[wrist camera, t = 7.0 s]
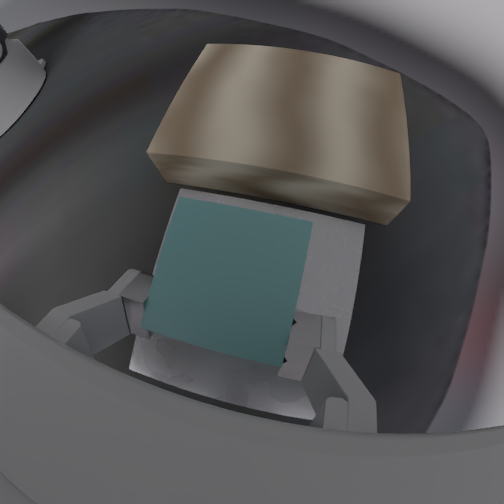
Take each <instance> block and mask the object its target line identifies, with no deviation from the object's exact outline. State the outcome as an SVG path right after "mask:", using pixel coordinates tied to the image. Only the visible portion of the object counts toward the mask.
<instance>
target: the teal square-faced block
mask: <svg viewBox="0 0 504 504" xmlns="http://www.w3.org/2000/svg"><path fill="white" fill-rule="evenodd" d="M312 225H313V222H311V221H306V220H301V219H297V218H292V217H287V216H282V215H277V214H272V213H267V212H262V211H257V210H252V209H247V208H241V207H236V206H230V205H225V204H219V203H214V202H208V201H202V200H197V199H191V198H185V197H179V199H178V202H177V204H176V207H175V210H174V213H173V216H172V219H171V222H170V225H169V228H168V231H167V234H166V237H165V240H164V244H163V247H162V250H161V253H160V256H159V260H158V263H157V266H156V270H155V273H154V277H153V280H152V284H151V287H150V291H149V295H148V299H147V303H146V307H145V310H144V314H143V318H142V322H141V326H140V327H141V328H144V329H146V330H149V331H152V332H155V333H158V334H161V335H164V336H167V337H170V338H173V339H176V340H180V341H183V342H186V343H189V344H193V345H196V346H199V347H203V348H206V349H210V350H213V351H217V352H221V353H224V354H228V355H232V356H236V357H240V358H244V359H248V360H252V361H256V362H260V363H265V364H269V365H274V366H278V367H282V364H283V360H284V356H285V352H286V347H287V343H288V339H289V335H290V331H291V327H292V322H293V318H294V314H295V309H296V305H297V300H298V295H299V291H300V286H301V281H302V276H303V272H304V267H305V262H306V257H307V251H308V246H309V241H310V236H311V230H312Z"/></svg>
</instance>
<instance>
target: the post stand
mask: <svg viewBox="0 0 504 504" xmlns="http://www.w3.org/2000/svg"><path fill="white" fill-rule="evenodd" d="M179 197H185V198H191V199H197V200H202V201H208V202H214V203H219V204H225V205H230V206H236V207H241V208H247V209H252V210H257V211H262V212H267V213H272V214H277V215H282V216H287V217H292V218H297V219H301V220H306V221H311V222H313V225H312V230H311V236H310V241H309V246H308V251H307V257H306V262H305V267H304V272H303V276H302V281H301V286H300V291H299V295H298V300H297V305H296V309H295V310H297V311H302V312H307V313H312V314H317V315H324V316H330V317H335V318H336V352H340V353H341V354H342V355H343V354H344V350H345V345H346V341H347V336H348V331H349V327H350V322H351V317H352V311H353V306H354V300H355V295H356V289H357V283H358V276H359V270H360V263H361V256H362V248H363V240H364V231H365V224H361V223H356V222H352V221H348V220H344V219H339V218H335V217H330V216H326V215H321V214H317V213H312V212H308V211H303V210H298V209H293V208H288V207H283V206H278V205H273V204H268V203H263V202H258V201H253V200H247V199H242V198H236V197H231V196H225V195H219V194H213V193H207V192H201V191H195V190H189V189H182V188H180V191H179V194H178V196H177V199H176V202H175V205H174V208H173V210H172V213H171V216H170V219H169V222H168V225H167V228H166V231H165V234H164V237H163V241H162V244H161V247H160V250H159V253H158V257H157V260H156V263H155V267H154V270H153V274H152V275H154V273H155V270H156V266H157V263H158V260H159V256H160V253H161V250H162V247H163V244H164V240H165V237H166V234H167V231H168V228H169V225H170V222H171V219H172V216H173V213H174V210H175V207H176V204H177V202H178V199H179ZM129 369H131V370H133V371H136V372H138V373H141V374H143V375H146V376H148V377H151V378H153V379H156V380H159V381H161V382H164V383H167V384H170V385H173V386H176V387H178V388H181V389H184V390H187V391H190V392H194V393H197V394H200V395H203V396H207V397H210V398H213V399H217V400H220V401H224V402H228V403H232V404H235V405H239V406H243V407H247V408H252V409H256V410H260V411H265V412H270V413H275V414H280V415H285V416H290V417H296V418H302V419H308V420H313V419H314V417H315V416H316V414H315V412H314V410H313V407H312V405H311V403H310V401H309V399H308V397H307V395H306V392H305V390H304V388H303V386H302V384H301V381H298V380H293V379H289V378H284V377H280V376H278V371H279V367H278V366H274V365H269V364H265V363H260V362H256V361H252V360H248V359H244V358H240V357H236V356H232V355H228V354H224V353H221V352H217V351H213V350H210V349H206V348H203V347H199V346H196V345H193V344H189V343H186V342H183V341H180V340H176V339H173V338H170V337H167V336H164V335H161V334H158V333H155V332H154V333H153V335H152V336H151V338H150V339H146V338H143V337H140V336H137V335H136V339H135V343H134V348H133V352H132V357H131V362H130V367H129Z"/></svg>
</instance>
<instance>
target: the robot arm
mask: <svg viewBox="0 0 504 504" xmlns="http://www.w3.org/2000/svg"><path fill="white" fill-rule="evenodd" d="M7 35H8V34H7V33H6V31H5V30H4V27H3V26H1V25H0V136H1V135H2V134H3V133H4V132H5V131H7V130H8V129H9V128H10V127H11V125H12V124H13V123H14V122H15V121H16V120H17V119H18V118H19V117H20V115H21V114H22V113H23V112H24V111H25V109H26V108H27V107H28V106H29V104H30V103H31V102H32V100H33V99H34V97H35V96H36V95H37V93H38V91H39V90H40V88H41V86H42V85H43V82H44V80H45V77H46V72H45V70H44V67H45V64H46V61H45V60H44V59H40V60H37V59H36V58H35V57H34V56H33V55H32V54H31V53H30V52H29V50H28V49H27V48H26V47H25V46H24V45H23V44H22V43H21V42H20V41H19V40H18V39H12V40H11V39H8V38H7ZM153 277H154V275H152V274H149V273H145V272H141V271H138V270H135V269H128V270H127V271H126V272H125V273H124V274H123V275H122V276H121V278H120V279H119V280H118V281H117V282H116V283H115V284H114V285H113V286H112V287H111V288H110V289H109V290H108V291H101V292H98V293H95V294H92V295H89V296H87V297H84V298H81V299H78V300H75V301H72V302H70V303H67V304H64V305H61V306H58V307H55V308H53V309H52V310H51V311H50V312H49V313H48V314H47V315H46V316H45V317H44V319H43V320H42V321H41V322H40V323H39V324H38V325H37V326H36V327H35V326H33V325H31V324H30V323H28V322H27V321H25V320H24V319H22V318H21V317H19V316H18V315H16V314H15V313H13V312H12V311H10V310H9V309H7V308H6V307H5V306H3V305H2V304H0V504H504V426H497V427H490V428H483V429H476V430H468V431H458V432H445V433H422V434H391V433H377V412H376V401H375V399H374V398H373V396H372V395H371V394H370V392H369V391H368V390H367V388H366V387H365V385H364V384H363V383H362V381H361V380H360V379H359V377H358V376H357V375H356V373H355V372H354V370H353V369H352V368H351V366H350V365H349V364H348V362H347V361H346V360H345V358H344V357H343V355H342V354H341V353H340V352H336V318H335V317H330V316H324V315H317V314H312V313H307V312H302V311H297V310H295V314H294V318H293V322H292V327H291V331H290V335H289V339H288V343H287V347H286V352H285V356H284V360H283V364H282V367H279V371H278V376H280V377H284V378H289V379H293V380H298V381H301V384H302V386H303V388H304V390H305V392H306V395H307V397H308V399H309V401H310V403H311V405H312V407H313V410H314V412H315V414H316V416H315V417H314V419H313V420H312V422H311V423H310V424H309V426H304V425H298V424H292V423H286V422H281V421H276V420H271V419H266V418H261V417H257V416H252V415H248V414H244V413H240V412H236V411H232V410H228V409H224V408H221V407H217V406H214V405H210V404H207V403H203V402H200V401H197V400H194V399H191V398H188V397H185V396H182V395H179V394H176V393H173V392H170V391H167V390H164V389H162V388H159V387H156V386H154V385H151V384H149V383H146V382H144V381H141V380H139V379H136V378H134V377H131V376H129V375H127V374H124V373H122V372H120V371H118V370H115V369H113V368H111V367H109V366H107V365H104V364H102V363H100V362H98V361H96V360H95V358H94V356H93V355H94V354H96V353H97V352H99V351H101V350H103V349H105V348H106V347H108V346H110V345H112V344H114V343H115V342H117V341H119V340H121V339H122V338H124V337H126V336H128V335H129V334H130V333H131V334H134V335H137V336H140V337H143V338H146V339H150V338H151V336H152V335H153V333H154V332H152V331H149V330H146V329H144V328H141V327H140V326H141V322H142V318H143V314H144V310H145V307H146V303H147V299H148V295H149V291H150V287H151V284H152V280H153Z"/></svg>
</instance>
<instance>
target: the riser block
mask: <svg viewBox="0 0 504 504" xmlns="http://www.w3.org/2000/svg"><path fill="white" fill-rule="evenodd" d="M146 153H147V154H148V156H149V157H150V159H151V160H152V161H153V163H154V164H155V166H156V167H157V169H158V170H159V172H160V173H161V175H162V176H163V178H164V179H165V181H166V182H170V183H177V184H184V185H190V186H197V187H203V188H209V189H215V190H221V191H227V192H233V193H239V194H244V195H250V196H255V197H261V198H266V199H271V200H276V201H281V202H286V203H291V204H296V205H301V206H306V207H310V208H315V209H320V210H324V211H329V212H333V213H337V214H342V215H346V216H350V217H354V218H359V219H363V220H367V221H371V222H375V223H379V224H383V225H388V224H389V223H390V222H391V221H392V220H393V219H394V218H395V217H396V216H397V215H398V214H399V213H400V212H401V211H402V210H403V209H404V208H405V207H406V205H407V204H408V203H409V202H410V158H409V142H408V130H407V120H406V111H405V103H404V96H403V89H402V83H401V77H400V74H399V73H396V72H393V71H390V70H387V69H383V68H380V67H376V66H373V65H369V64H366V63H362V62H358V61H354V60H349V59H345V58H341V57H336V56H331V55H326V54H321V53H315V52H309V51H303V50H296V49H288V48H280V47H270V46H258V45H241V44H207V45H206V47H205V48H204V50H203V51H202V53H201V54H200V56H199V57H198V59H197V60H196V62H195V64H194V65H193V67H192V68H191V70H190V72H189V73H188V75H187V77H186V78H185V80H184V82H183V83H182V85H181V87H180V89H179V90H178V92H177V94H176V96H175V97H174V99H173V101H172V103H171V105H170V106H169V108H168V110H167V112H166V114H165V116H164V118H163V120H162V122H161V124H160V126H159V127H158V129H157V131H156V133H155V136H154V138H153V140H152V142H151V144H150V146H149V148H148V150H147V152H146Z"/></svg>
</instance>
